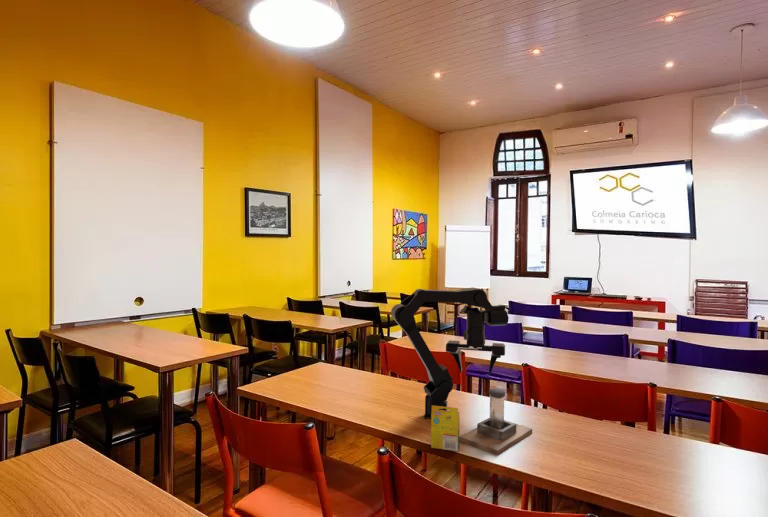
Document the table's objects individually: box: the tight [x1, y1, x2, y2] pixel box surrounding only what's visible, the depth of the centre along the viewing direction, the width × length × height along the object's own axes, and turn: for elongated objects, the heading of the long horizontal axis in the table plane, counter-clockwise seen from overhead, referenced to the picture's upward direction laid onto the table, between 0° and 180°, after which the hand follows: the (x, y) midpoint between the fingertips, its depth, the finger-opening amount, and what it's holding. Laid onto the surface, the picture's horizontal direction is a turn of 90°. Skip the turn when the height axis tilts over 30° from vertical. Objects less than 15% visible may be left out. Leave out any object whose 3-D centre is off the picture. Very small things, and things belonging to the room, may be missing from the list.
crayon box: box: [430, 405, 460, 453], centre depth 120 cm, size 7×3×12 cm, turn 72°
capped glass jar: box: [488, 388, 506, 430], centre depth 127 cm, size 4×4×12 cm
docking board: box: [459, 417, 533, 456], centre depth 127 cm, size 12×20×4 cm, turn 136°
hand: (475, 373), depth 145 cm, fingers open, 9 cm apart
